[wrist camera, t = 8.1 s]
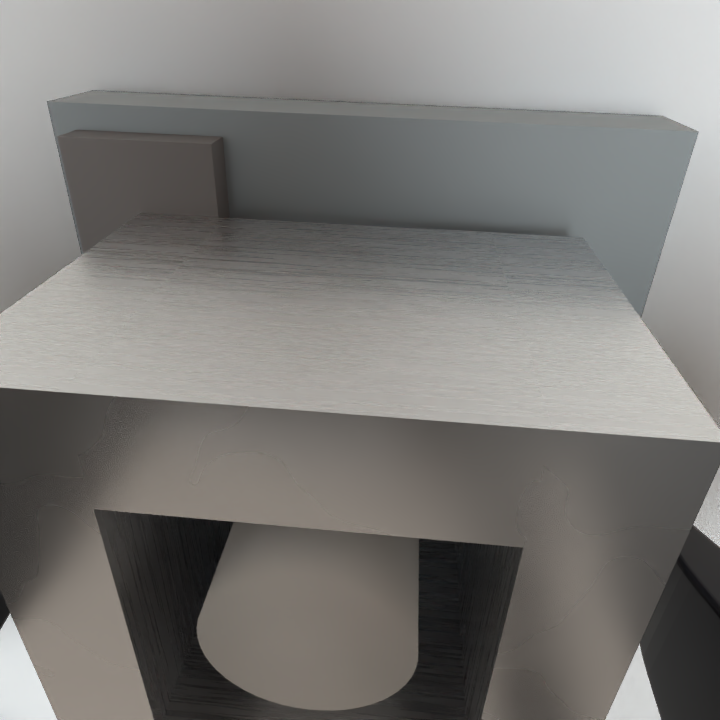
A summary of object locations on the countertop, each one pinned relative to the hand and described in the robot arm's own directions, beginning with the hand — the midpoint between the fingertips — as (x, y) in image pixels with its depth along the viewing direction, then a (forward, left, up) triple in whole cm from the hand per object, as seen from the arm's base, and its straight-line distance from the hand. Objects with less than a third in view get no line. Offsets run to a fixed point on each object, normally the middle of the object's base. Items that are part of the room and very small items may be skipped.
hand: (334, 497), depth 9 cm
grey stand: (0, 0, -4) cm, 4 cm away
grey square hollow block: (0, 0, -2) cm, 2 cm away
